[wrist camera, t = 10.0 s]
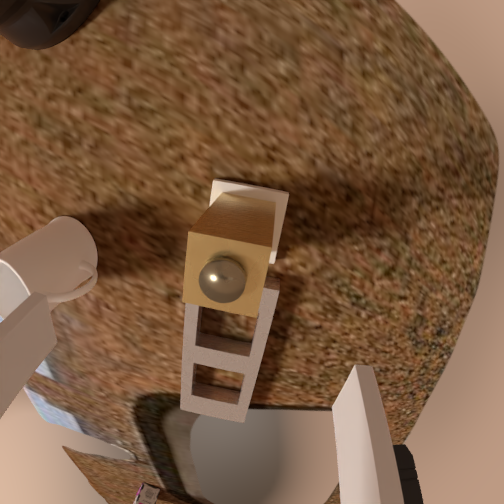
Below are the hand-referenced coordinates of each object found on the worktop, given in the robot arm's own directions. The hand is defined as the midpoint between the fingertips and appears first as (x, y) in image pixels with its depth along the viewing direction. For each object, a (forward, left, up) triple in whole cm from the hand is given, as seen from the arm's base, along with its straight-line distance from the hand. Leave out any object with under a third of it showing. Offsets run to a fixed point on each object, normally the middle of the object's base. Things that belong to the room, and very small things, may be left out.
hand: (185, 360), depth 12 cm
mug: (+8, -19, -20) cm, 29 cm away
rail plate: (+17, 0, -20) cm, 26 cm away
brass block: (0, 0, -19) cm, 19 cm away
